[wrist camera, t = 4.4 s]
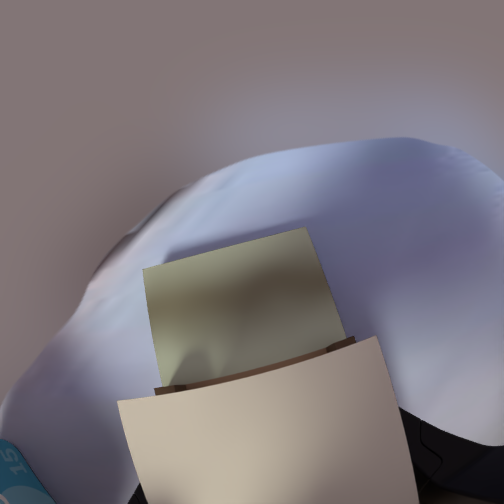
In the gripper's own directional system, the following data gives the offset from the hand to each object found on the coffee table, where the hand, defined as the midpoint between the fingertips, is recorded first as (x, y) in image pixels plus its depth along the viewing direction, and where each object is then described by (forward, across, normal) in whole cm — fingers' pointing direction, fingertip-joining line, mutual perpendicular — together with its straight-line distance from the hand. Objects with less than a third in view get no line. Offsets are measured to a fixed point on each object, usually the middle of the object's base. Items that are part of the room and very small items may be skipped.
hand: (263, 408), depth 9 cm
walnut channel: (+3, 0, +7) cm, 8 cm away
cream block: (+3, 0, +5) cm, 5 cm away
